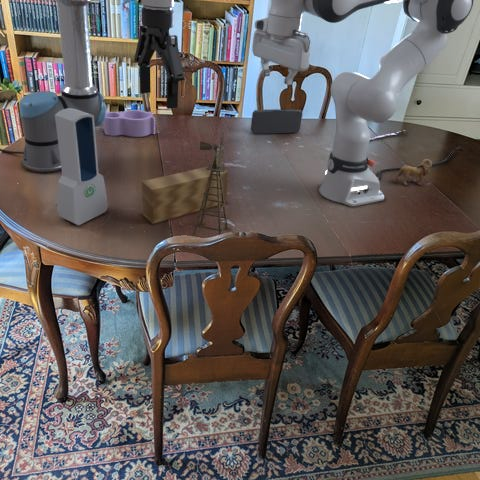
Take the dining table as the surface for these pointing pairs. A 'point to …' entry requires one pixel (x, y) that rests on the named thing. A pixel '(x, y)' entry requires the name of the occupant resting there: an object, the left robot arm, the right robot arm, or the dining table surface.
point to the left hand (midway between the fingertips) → (158, 100)
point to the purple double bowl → (129, 123)
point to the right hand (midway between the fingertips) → (276, 79)
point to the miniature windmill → (215, 168)
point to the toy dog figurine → (415, 171)
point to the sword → (386, 135)
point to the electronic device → (79, 168)
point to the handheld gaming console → (276, 121)
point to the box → (179, 194)
